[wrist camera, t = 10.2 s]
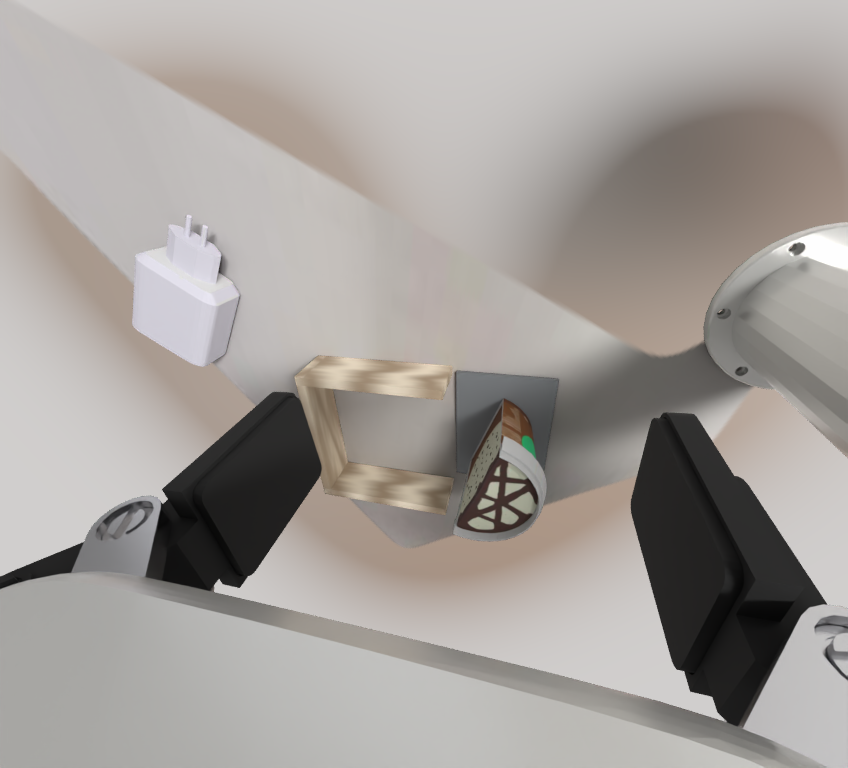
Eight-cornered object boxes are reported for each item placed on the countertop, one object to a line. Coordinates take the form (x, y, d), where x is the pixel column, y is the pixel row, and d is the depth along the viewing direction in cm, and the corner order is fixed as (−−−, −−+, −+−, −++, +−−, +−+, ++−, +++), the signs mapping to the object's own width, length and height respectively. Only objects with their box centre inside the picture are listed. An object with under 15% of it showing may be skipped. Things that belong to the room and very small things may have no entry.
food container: (514, 486, 43) (509, 562, 35) (466, 466, 44) (450, 536, 35) (567, 410, 36) (576, 482, 28) (509, 386, 37) (502, 452, 29)
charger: (256, 243, 37) (229, 351, 45) (175, 190, 36) (162, 310, 44) (223, 253, 33) (200, 369, 41) (131, 193, 32) (126, 324, 40)
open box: (452, 365, 38) (442, 391, 34) (453, 483, 46) (445, 515, 42) (318, 355, 41) (294, 377, 37) (342, 466, 50) (325, 493, 46)
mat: (558, 378, 35) (558, 380, 35) (541, 482, 43) (541, 484, 42) (457, 370, 38) (456, 372, 37) (457, 469, 45) (456, 472, 45)
